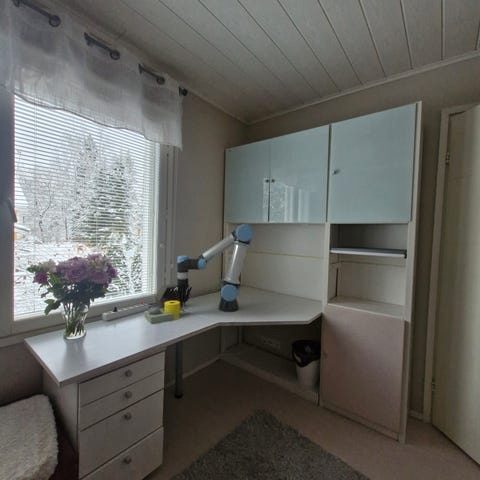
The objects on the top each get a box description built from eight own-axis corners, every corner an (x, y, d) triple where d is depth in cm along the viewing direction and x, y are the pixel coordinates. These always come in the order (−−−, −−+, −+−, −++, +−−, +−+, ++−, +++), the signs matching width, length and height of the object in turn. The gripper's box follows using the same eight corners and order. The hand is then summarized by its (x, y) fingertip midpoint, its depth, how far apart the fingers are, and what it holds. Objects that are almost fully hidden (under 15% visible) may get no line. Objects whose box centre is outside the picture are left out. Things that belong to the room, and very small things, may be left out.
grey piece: (166, 313, 178) (166, 303, 178) (173, 319, 166) (173, 309, 165) (144, 317, 170) (144, 306, 169) (151, 324, 157) (151, 312, 157)
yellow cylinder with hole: (181, 314, 177) (181, 301, 176) (176, 319, 167) (176, 305, 166) (167, 313, 178) (167, 300, 177) (162, 318, 168) (162, 304, 167)
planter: (155, 307, 176) (170, 280, 183) (150, 304, 181) (165, 279, 188) (173, 316, 186) (187, 290, 193) (168, 313, 191) (182, 288, 198)
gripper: (189, 276, 183) (189, 308, 184) (172, 278, 176) (172, 311, 177) (193, 277, 177) (193, 311, 178) (176, 280, 170) (176, 314, 171)
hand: (182, 311), depth 178 cm, fingers closed
